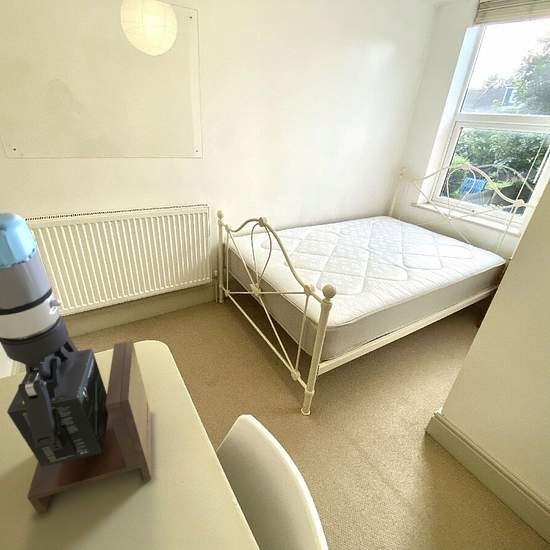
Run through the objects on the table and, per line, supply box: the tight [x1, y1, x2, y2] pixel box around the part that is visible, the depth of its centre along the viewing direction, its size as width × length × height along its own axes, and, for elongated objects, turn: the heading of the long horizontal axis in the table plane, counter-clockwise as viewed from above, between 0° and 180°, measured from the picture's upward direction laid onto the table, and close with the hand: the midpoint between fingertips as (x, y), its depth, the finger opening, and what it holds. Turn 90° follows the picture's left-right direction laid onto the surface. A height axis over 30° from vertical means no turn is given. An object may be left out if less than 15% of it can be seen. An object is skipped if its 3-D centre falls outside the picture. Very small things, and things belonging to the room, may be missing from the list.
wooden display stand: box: [26, 340, 152, 515], centre depth 55 cm, size 18×14×23 cm
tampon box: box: [6, 348, 108, 467], centre depth 52 cm, size 11×9×15 cm
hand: (74, 422), depth 54 cm, fingers closed on tampon box, 11 cm apart
